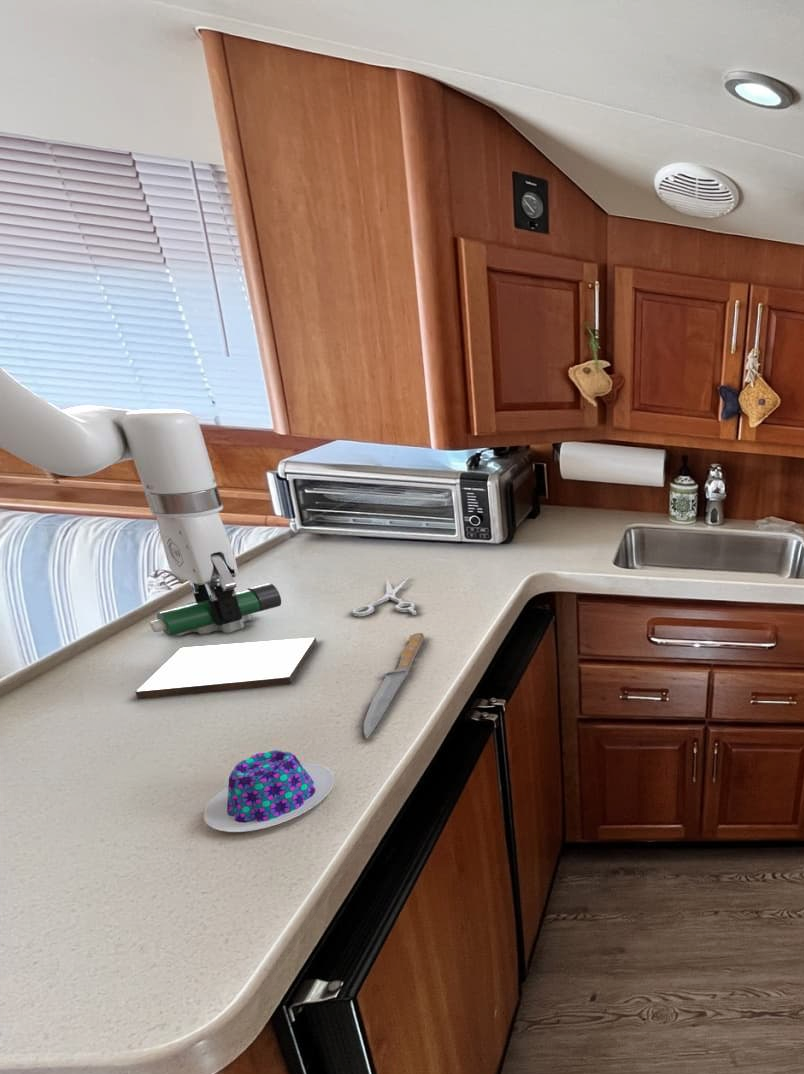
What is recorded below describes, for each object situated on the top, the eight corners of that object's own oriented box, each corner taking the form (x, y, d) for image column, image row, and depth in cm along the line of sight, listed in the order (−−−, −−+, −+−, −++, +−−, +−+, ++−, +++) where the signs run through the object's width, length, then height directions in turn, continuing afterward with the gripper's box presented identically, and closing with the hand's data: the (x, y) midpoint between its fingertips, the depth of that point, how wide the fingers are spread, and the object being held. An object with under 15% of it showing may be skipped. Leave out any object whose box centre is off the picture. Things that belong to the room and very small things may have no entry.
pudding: (317, 755, 82) (308, 721, 80) (350, 800, 76) (341, 764, 74) (194, 799, 74) (181, 763, 72) (219, 854, 67) (205, 815, 65)
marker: (162, 643, 90) (155, 619, 88) (149, 633, 91) (141, 609, 89) (283, 609, 102) (278, 587, 100) (270, 601, 103) (265, 579, 102)
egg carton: (162, 637, 107) (154, 615, 105) (187, 618, 113) (180, 597, 112) (238, 633, 110) (232, 612, 108) (258, 615, 116) (252, 595, 115)
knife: (404, 633, 112) (423, 632, 113) (405, 639, 112) (424, 638, 113) (349, 737, 85) (375, 734, 86) (351, 743, 86) (377, 741, 87)
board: (137, 699, 91) (135, 691, 90) (183, 654, 102) (181, 647, 102) (291, 684, 97) (289, 677, 97) (317, 643, 109) (315, 637, 108)
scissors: (349, 616, 117) (368, 577, 134) (350, 620, 118) (369, 581, 134) (415, 611, 121) (426, 574, 138) (416, 615, 122) (426, 577, 138)
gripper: (124, 495, 90) (165, 612, 97) (178, 517, 83) (218, 642, 90) (191, 486, 96) (225, 597, 103) (247, 506, 89) (279, 624, 96)
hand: (221, 617), depth 96 cm, fingers closed on marker, 3 cm apart
